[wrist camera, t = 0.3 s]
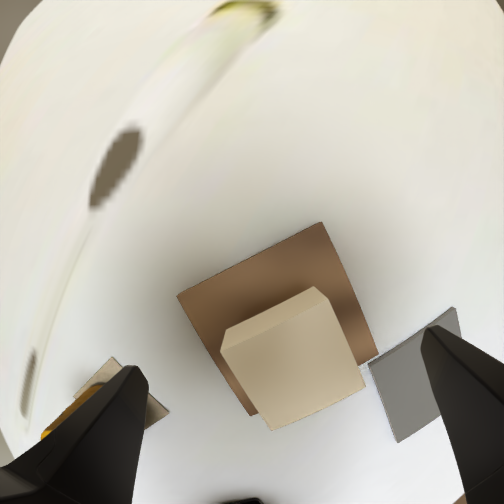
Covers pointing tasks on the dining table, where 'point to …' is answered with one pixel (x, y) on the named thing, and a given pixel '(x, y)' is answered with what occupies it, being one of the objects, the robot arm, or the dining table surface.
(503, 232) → the dining table surface
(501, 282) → the dining table surface
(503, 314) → the dining table surface
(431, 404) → the pad
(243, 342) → the tan cardboard carton
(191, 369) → the dining table surface
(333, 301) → the post base
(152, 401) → the condiment
